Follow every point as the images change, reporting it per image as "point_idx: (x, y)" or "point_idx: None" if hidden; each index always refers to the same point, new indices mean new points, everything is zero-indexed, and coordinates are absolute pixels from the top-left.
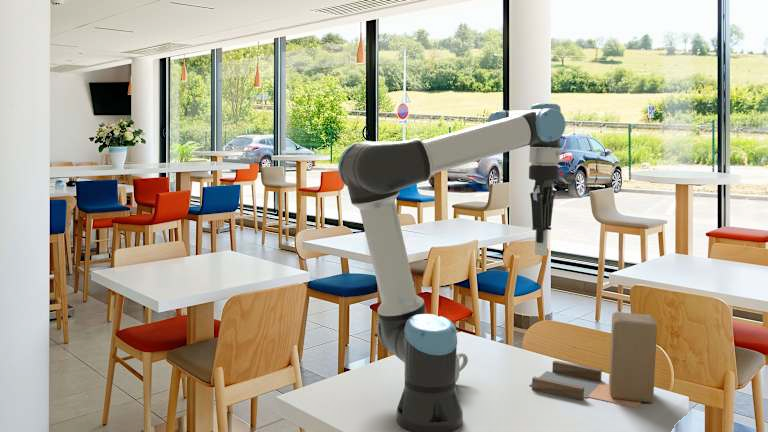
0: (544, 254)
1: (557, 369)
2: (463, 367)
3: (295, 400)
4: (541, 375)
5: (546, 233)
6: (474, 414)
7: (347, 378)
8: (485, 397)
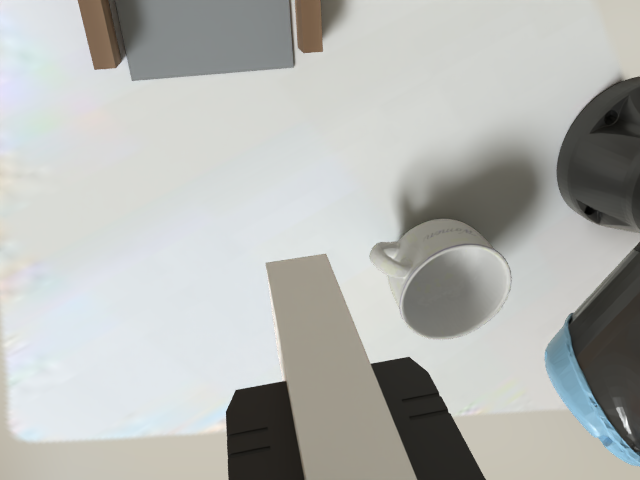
0: (329, 264)
1: (115, 44)
2: (385, 243)
3: None
4: (185, 75)
5: (364, 446)
6: (555, 88)
7: (490, 397)
8: (443, 124)
